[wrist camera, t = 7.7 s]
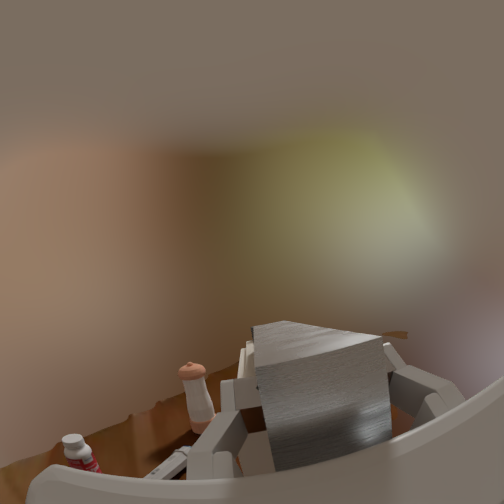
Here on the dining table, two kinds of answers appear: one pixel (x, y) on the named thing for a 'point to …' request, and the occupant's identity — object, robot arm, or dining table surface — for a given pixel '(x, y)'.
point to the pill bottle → (79, 454)
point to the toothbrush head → (171, 465)
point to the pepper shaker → (197, 397)
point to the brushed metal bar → (320, 392)
